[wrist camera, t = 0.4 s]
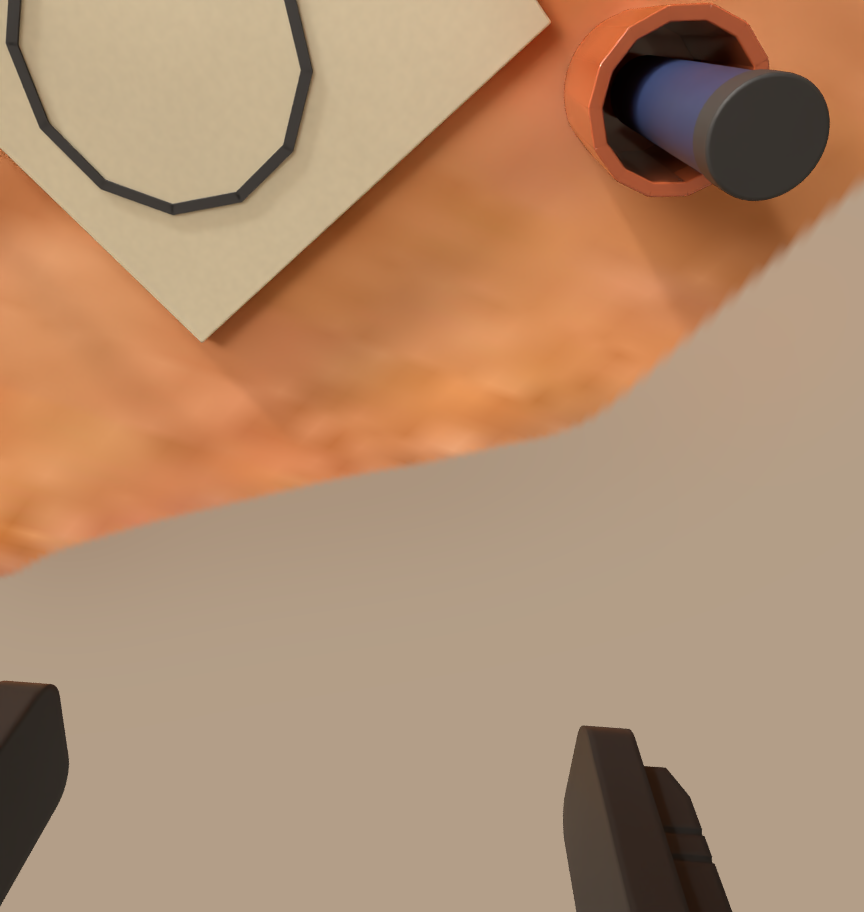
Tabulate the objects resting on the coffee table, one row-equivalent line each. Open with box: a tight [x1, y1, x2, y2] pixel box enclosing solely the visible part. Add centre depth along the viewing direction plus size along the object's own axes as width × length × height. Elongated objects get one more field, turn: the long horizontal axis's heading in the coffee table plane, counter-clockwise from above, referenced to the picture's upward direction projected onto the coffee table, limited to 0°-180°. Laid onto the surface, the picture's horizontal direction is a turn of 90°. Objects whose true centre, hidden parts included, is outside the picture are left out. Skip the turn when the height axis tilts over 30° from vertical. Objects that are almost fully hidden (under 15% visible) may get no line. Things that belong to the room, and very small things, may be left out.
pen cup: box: [564, 3, 769, 197], centre depth 24 cm, size 5×5×7 cm
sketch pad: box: [0, 0, 551, 342], centre depth 26 cm, size 18×14×1 cm
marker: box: [610, 55, 830, 201], centre depth 20 cm, size 2×2×14 cm
